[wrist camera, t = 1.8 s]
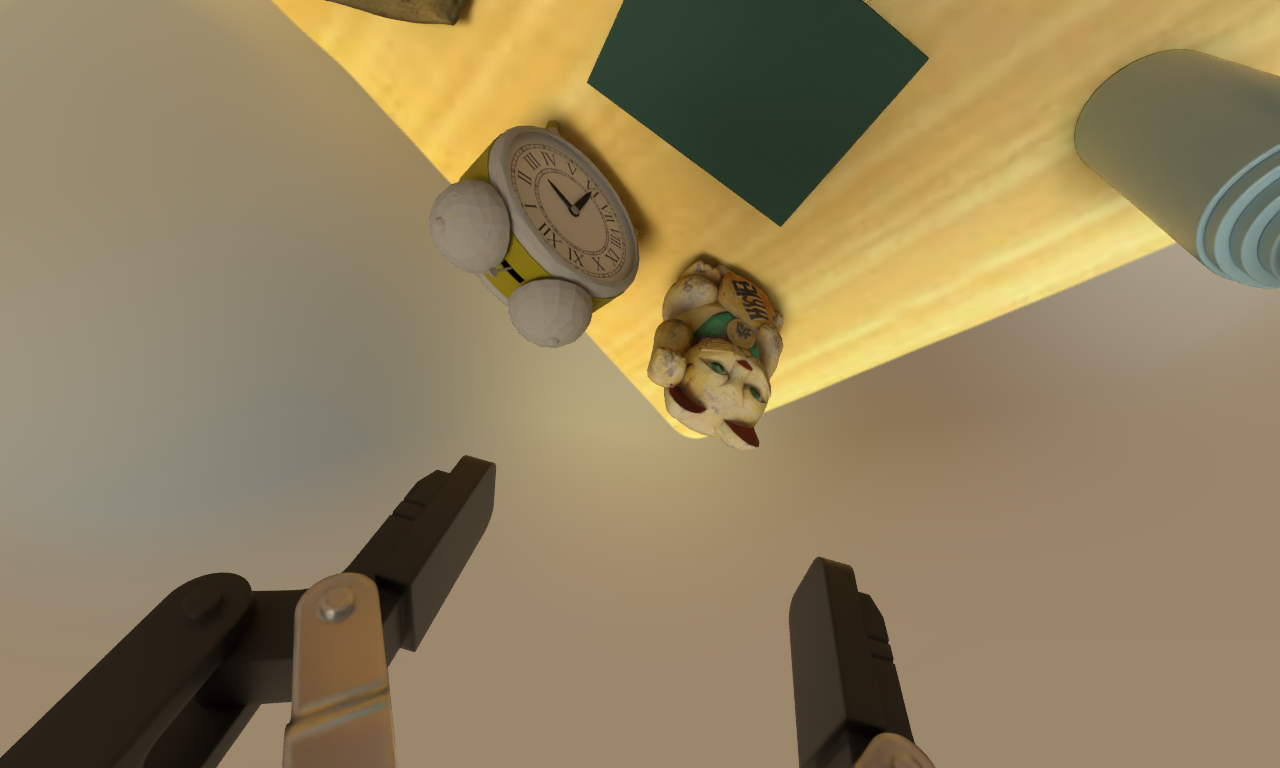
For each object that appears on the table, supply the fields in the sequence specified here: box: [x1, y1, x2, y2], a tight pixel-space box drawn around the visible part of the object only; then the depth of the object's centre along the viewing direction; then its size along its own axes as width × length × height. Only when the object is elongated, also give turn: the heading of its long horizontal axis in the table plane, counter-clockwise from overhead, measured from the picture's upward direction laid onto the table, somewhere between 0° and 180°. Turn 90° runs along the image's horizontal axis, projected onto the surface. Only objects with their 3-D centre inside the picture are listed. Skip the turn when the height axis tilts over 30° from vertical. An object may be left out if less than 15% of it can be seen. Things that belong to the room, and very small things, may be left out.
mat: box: [587, 0, 929, 227], centre depth 31 cm, size 12×16×1 cm
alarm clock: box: [429, 120, 643, 348], centre depth 33 cm, size 12×7×15 cm, turn 41°
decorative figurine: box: [647, 260, 783, 450], centre depth 36 cm, size 10×8×15 cm
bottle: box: [1075, 50, 1280, 289], centre depth 21 cm, size 6×6×19 cm
